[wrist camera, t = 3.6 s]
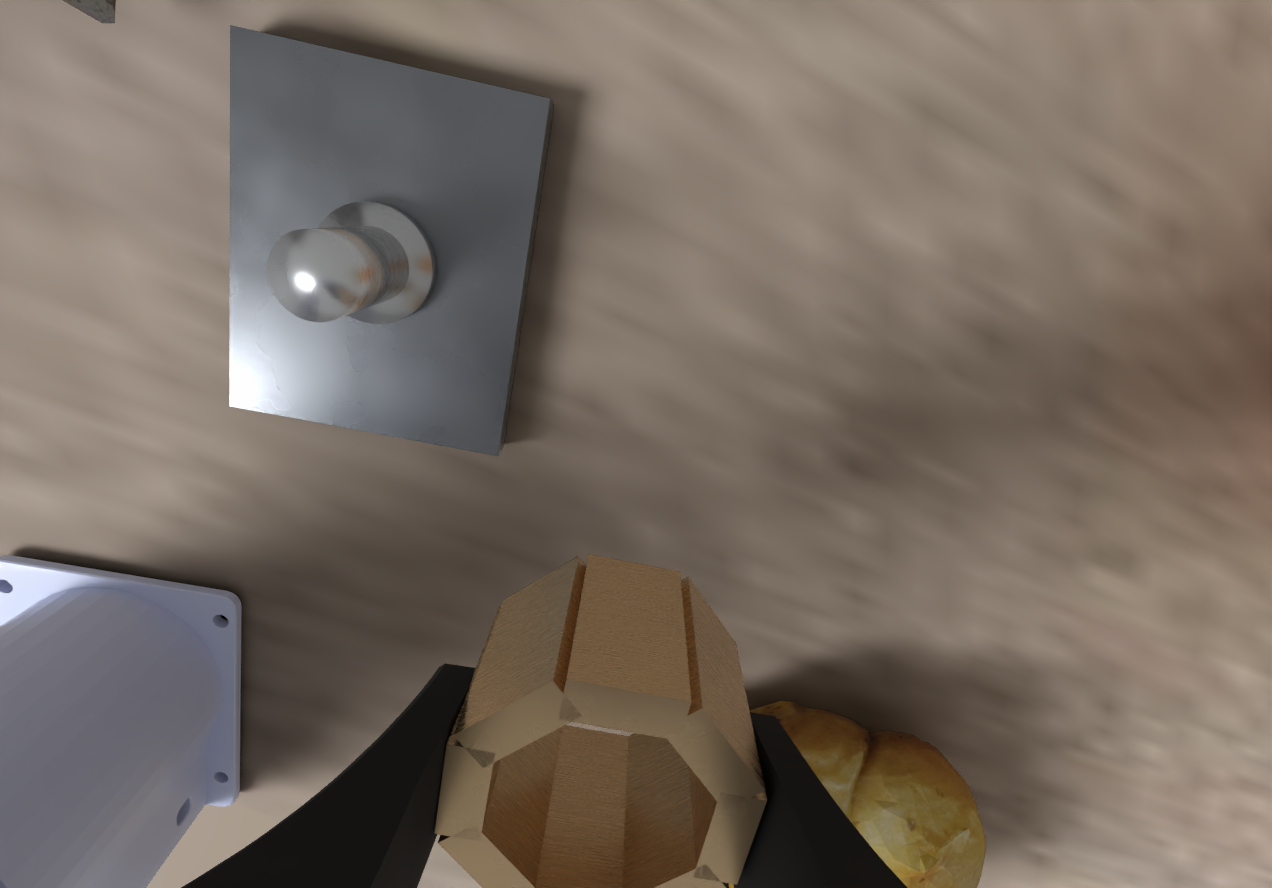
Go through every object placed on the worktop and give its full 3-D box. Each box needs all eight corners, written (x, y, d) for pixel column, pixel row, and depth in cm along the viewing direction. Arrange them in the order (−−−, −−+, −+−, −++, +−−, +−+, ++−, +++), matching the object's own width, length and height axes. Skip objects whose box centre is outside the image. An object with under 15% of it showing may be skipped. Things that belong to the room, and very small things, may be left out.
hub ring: (698, 776, 16) (714, 948, 12) (478, 736, 16) (424, 901, 12) (757, 586, 14) (795, 720, 10) (509, 539, 14) (458, 659, 10)
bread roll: (580, 802, 26) (561, 1041, 19) (687, 612, 23) (716, 803, 16) (857, 895, 28) (941, 1146, 21) (987, 730, 25) (1141, 951, 18)
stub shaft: (503, 444, 21) (468, 512, 16) (247, 397, 20) (134, 452, 16) (554, 104, 18) (527, 66, 13) (251, 35, 17) (110, -31, 13)
